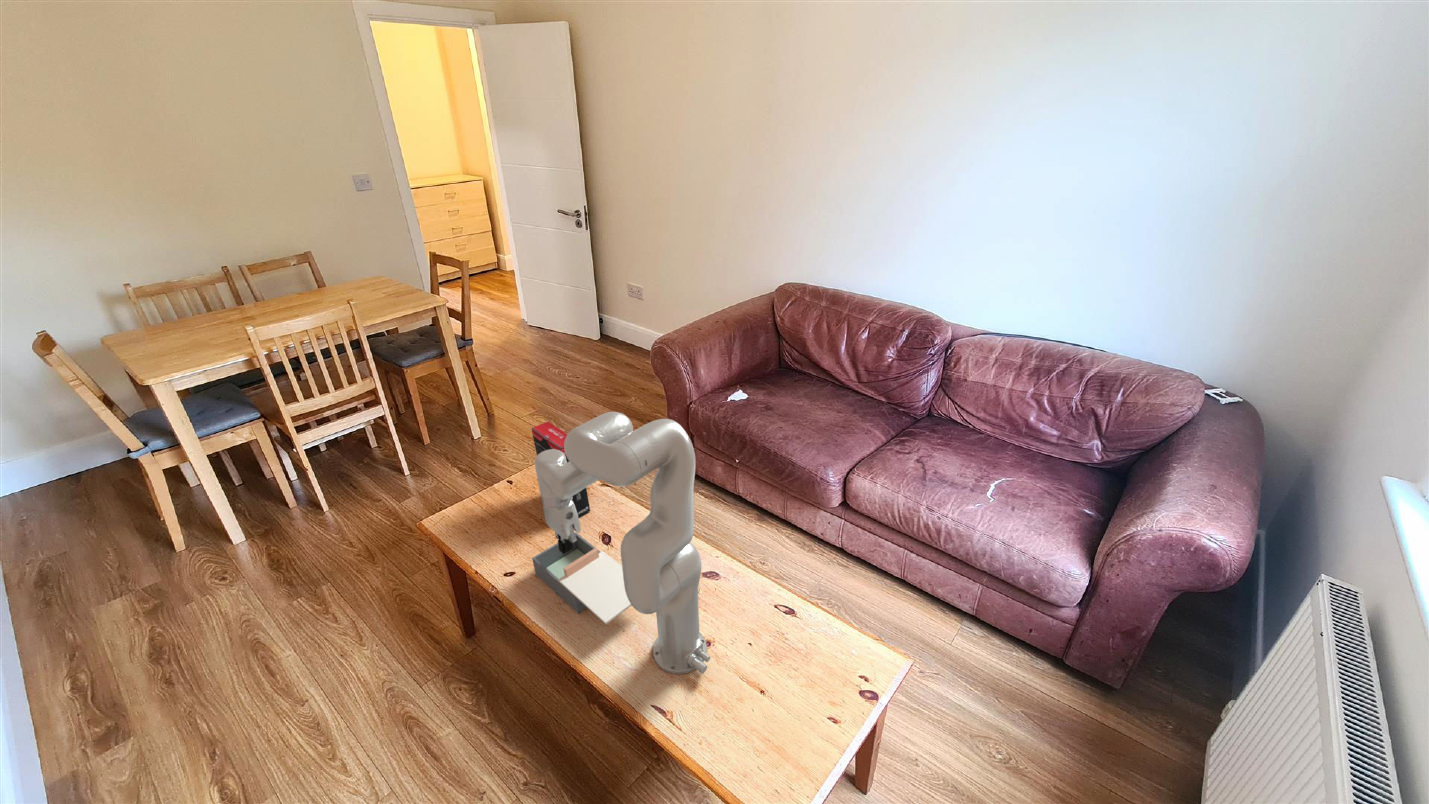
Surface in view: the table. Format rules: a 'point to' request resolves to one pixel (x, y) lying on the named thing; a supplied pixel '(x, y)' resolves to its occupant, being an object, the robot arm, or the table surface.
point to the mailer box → (561, 569)
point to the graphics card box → (554, 438)
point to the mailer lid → (597, 584)
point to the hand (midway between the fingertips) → (566, 549)
